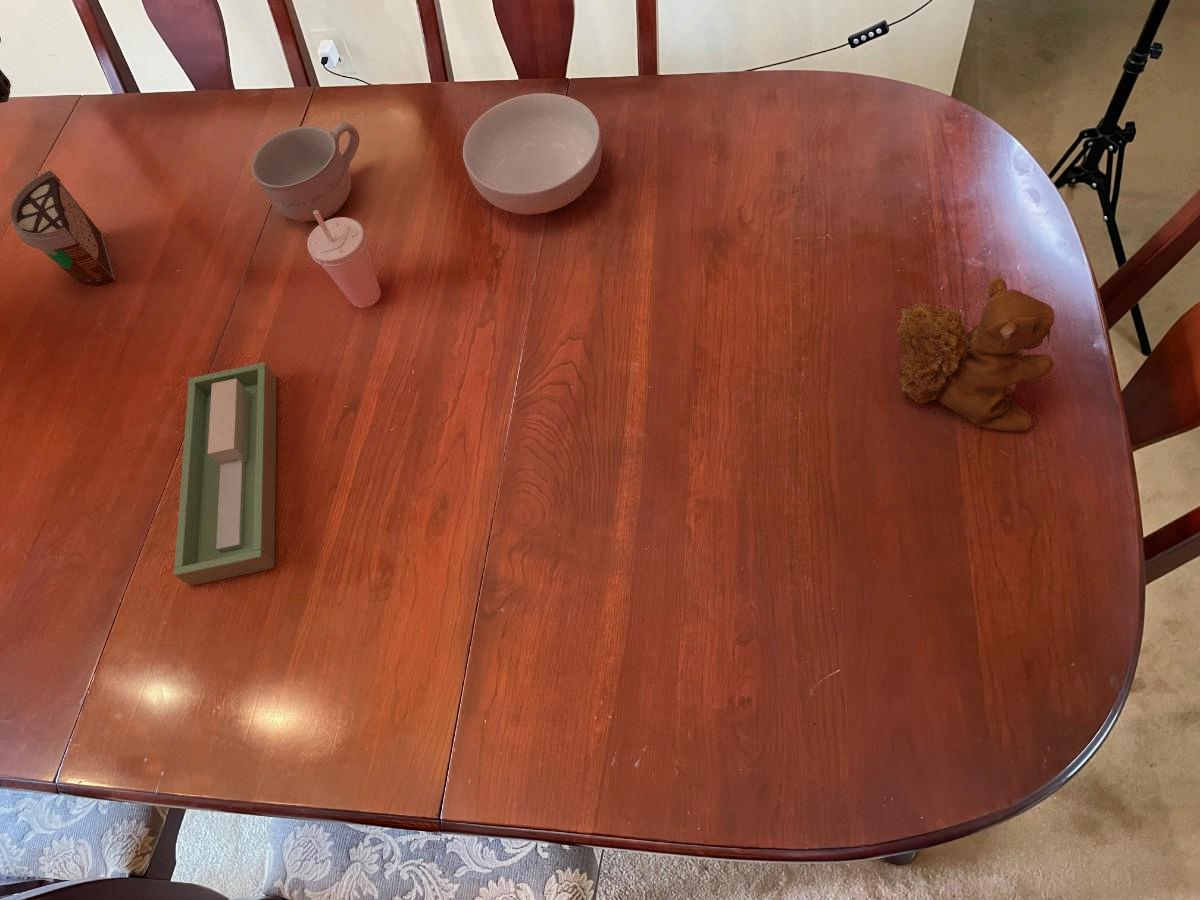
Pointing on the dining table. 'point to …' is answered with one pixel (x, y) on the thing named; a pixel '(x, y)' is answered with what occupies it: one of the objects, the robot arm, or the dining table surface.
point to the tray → (203, 475)
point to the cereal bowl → (533, 152)
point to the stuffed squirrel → (976, 356)
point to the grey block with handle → (229, 458)
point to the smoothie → (345, 258)
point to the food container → (61, 230)
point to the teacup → (306, 170)
